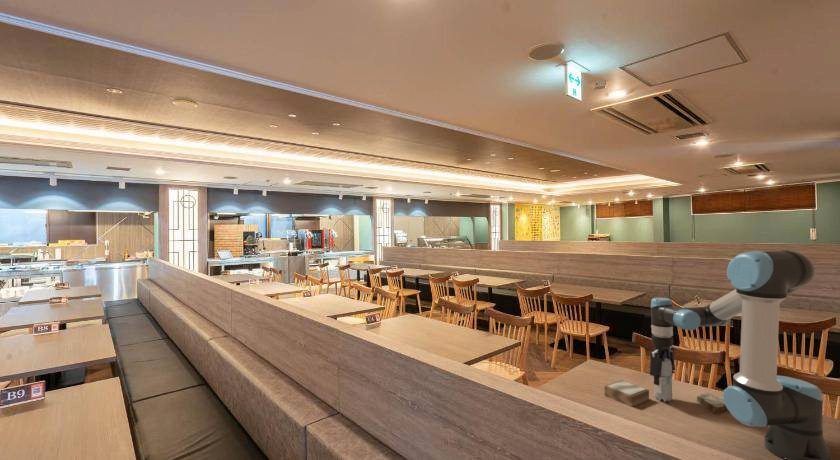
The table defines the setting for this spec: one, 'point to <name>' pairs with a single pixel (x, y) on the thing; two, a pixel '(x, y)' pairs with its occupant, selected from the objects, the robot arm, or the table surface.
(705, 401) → the stone
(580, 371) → the table surface
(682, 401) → the table surface
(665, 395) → the bottle
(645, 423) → the table surface
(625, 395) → the picture frame
